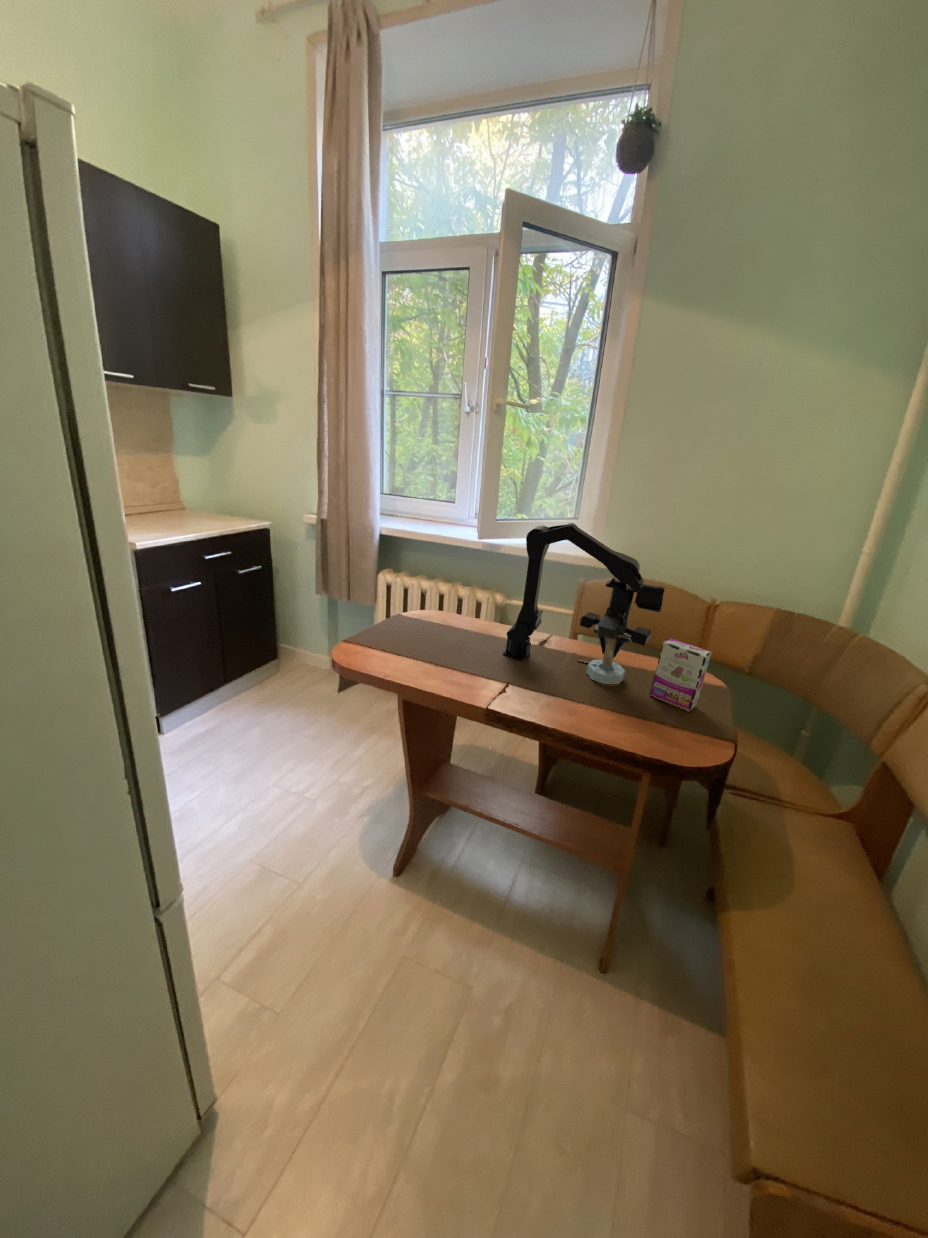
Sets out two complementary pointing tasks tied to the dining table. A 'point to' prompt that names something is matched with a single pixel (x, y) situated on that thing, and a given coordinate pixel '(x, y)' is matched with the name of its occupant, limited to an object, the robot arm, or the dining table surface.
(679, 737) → the dining table surface
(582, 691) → the dining table surface
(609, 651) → the beige wooden cylinder
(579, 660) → the brown wooden stick
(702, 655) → the candy bar box
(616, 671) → the bead
